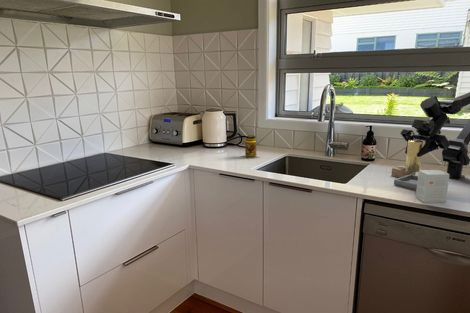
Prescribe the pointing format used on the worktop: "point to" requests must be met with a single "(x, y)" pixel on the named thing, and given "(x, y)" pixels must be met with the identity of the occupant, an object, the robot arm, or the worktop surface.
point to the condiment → (250, 147)
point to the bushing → (413, 155)
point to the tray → (407, 182)
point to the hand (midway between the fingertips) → (411, 154)
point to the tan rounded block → (401, 171)
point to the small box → (432, 186)
